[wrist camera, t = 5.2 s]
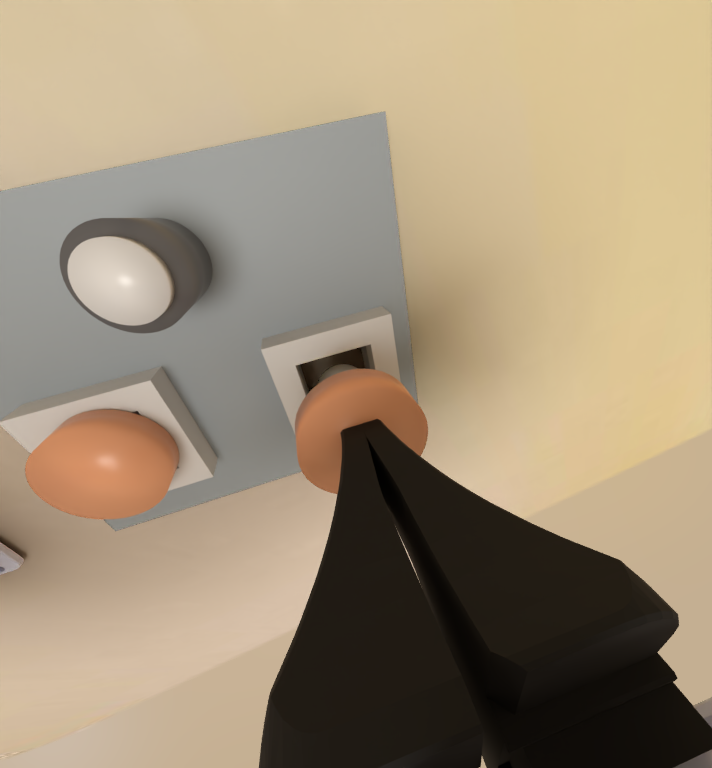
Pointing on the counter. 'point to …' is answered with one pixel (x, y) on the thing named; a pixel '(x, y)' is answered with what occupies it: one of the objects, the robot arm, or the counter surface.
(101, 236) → the white domed button
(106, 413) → the knob
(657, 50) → the counter surface
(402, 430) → the knob
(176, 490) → the mount board
